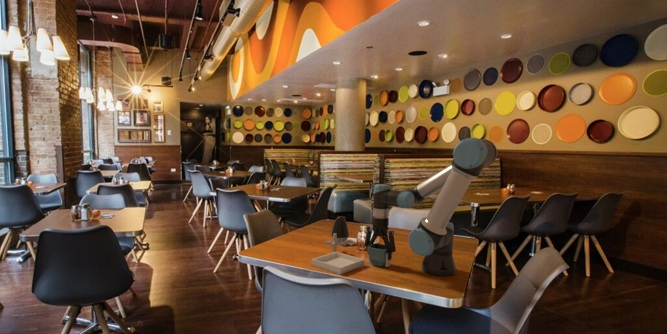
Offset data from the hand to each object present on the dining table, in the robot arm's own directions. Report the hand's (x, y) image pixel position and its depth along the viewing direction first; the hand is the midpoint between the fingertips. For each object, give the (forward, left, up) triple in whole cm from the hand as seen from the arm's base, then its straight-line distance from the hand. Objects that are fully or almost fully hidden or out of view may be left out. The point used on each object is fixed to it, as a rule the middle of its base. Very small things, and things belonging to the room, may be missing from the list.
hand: (379, 263), depth 173 cm
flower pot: (0, 0, -1) cm, 1 cm away
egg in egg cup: (+40, -19, -1) cm, 44 cm away
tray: (+13, +15, -1) cm, 20 cm away
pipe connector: (+28, 0, -1) cm, 28 cm away
